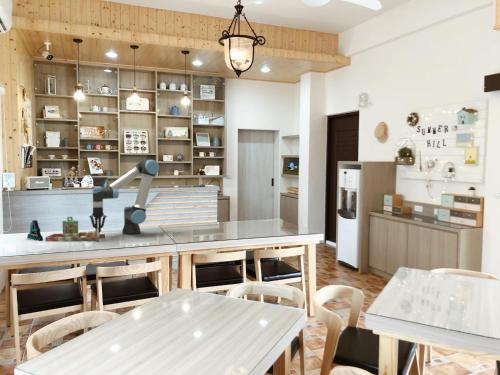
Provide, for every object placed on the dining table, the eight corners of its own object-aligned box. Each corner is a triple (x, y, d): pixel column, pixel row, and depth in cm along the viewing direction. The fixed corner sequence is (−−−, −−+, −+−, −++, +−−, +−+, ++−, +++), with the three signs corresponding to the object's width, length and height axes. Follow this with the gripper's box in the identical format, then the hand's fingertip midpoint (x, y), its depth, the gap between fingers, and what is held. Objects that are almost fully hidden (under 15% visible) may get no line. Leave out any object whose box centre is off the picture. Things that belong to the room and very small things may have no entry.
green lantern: (68, 236, 341) (67, 218, 340) (62, 234, 347) (61, 217, 346) (78, 234, 349) (78, 217, 347) (72, 233, 354) (72, 215, 353)
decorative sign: (43, 240, 324) (42, 221, 323) (40, 241, 322) (39, 221, 321) (30, 237, 334) (29, 219, 333) (27, 238, 332) (26, 219, 331)
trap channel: (107, 236, 344) (107, 232, 344) (98, 241, 322) (98, 237, 322) (57, 235, 343) (57, 232, 343) (45, 241, 321) (45, 237, 321)
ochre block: (97, 238, 333) (97, 231, 332) (94, 240, 326) (94, 233, 326) (88, 238, 333) (88, 231, 332) (85, 240, 326) (85, 233, 325)
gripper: (87, 207, 323) (88, 237, 325) (104, 207, 324) (105, 237, 326) (91, 206, 331) (91, 235, 333) (107, 206, 331) (108, 235, 333)
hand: (98, 236), depth 329 cm, fingers closed
